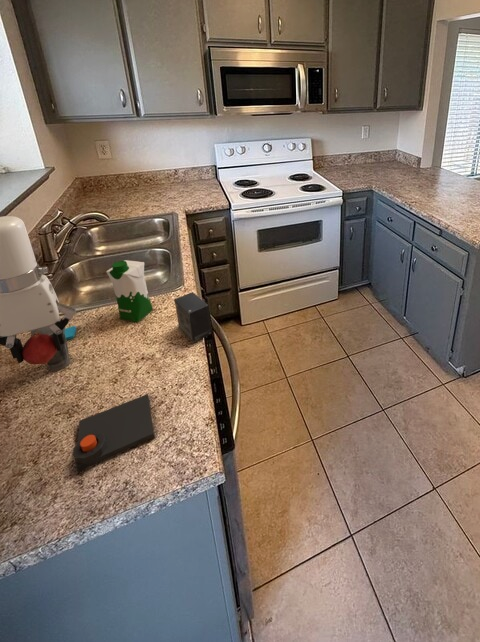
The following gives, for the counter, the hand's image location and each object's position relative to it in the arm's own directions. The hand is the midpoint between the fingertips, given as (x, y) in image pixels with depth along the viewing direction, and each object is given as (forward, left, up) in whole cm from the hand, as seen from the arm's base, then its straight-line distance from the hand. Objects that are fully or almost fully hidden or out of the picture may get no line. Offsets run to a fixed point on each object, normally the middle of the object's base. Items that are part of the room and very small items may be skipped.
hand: (41, 352), depth 76 cm
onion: (0, 0, -3) cm, 3 cm away
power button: (+6, -14, -16) cm, 22 cm away
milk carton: (+18, +34, -19) cm, 43 cm away
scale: (+11, -11, -18) cm, 24 cm away
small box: (+33, +15, -19) cm, 40 cm away
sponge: (-5, +34, -19) cm, 39 cm away
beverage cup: (-2, +20, -19) cm, 28 cm away
